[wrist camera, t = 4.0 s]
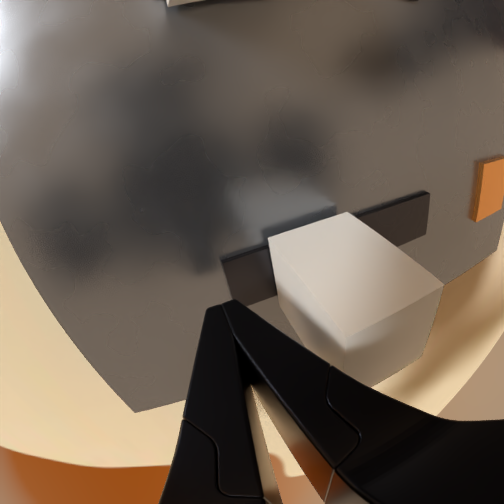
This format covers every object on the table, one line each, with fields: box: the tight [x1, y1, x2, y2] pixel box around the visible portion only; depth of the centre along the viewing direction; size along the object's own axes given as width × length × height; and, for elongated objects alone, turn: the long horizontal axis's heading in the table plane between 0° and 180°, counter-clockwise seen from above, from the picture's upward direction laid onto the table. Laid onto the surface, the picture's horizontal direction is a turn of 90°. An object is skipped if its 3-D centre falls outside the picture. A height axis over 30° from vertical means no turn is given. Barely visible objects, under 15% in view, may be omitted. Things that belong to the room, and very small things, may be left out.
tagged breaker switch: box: [268, 212, 444, 388], centre depth 8 cm, size 3×3×4 cm
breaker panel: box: [0, 0, 504, 413], centre depth 9 cm, size 22×18×2 cm
